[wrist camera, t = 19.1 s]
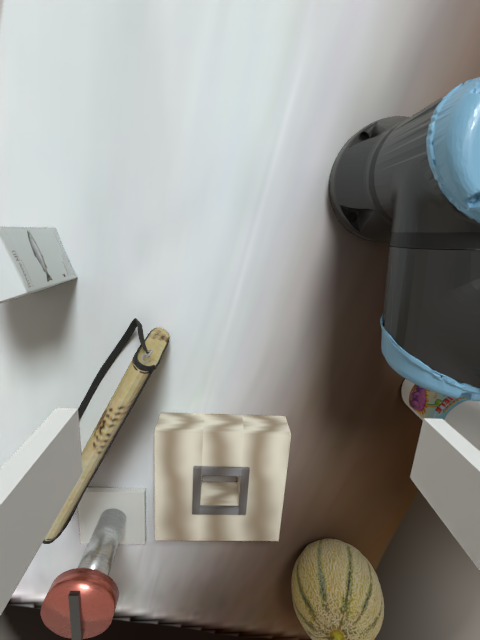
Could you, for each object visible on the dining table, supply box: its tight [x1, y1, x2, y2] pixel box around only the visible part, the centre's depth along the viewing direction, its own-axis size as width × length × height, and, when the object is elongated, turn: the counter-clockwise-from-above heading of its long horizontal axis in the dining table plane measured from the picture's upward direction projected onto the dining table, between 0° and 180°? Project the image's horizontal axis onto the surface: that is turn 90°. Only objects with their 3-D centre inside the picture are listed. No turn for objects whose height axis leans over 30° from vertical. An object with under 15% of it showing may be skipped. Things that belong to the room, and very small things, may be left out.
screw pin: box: [41, 508, 126, 640], centre depth 49 cm, size 9×9×15 cm
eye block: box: [154, 413, 291, 541], centre depth 53 cm, size 20×20×6 cm
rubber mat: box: [78, 487, 146, 544], centre depth 57 cm, size 11×11×1 cm
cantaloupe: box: [291, 538, 384, 640], centre depth 55 cm, size 15×15×15 cm
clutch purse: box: [43, 318, 169, 544], centre depth 45 cm, size 30×7×15 cm, turn 149°
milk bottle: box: [401, 379, 480, 451], centre depth 44 cm, size 8×8×20 cm
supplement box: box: [0, 227, 77, 303], centre depth 40 cm, size 7×7×13 cm
